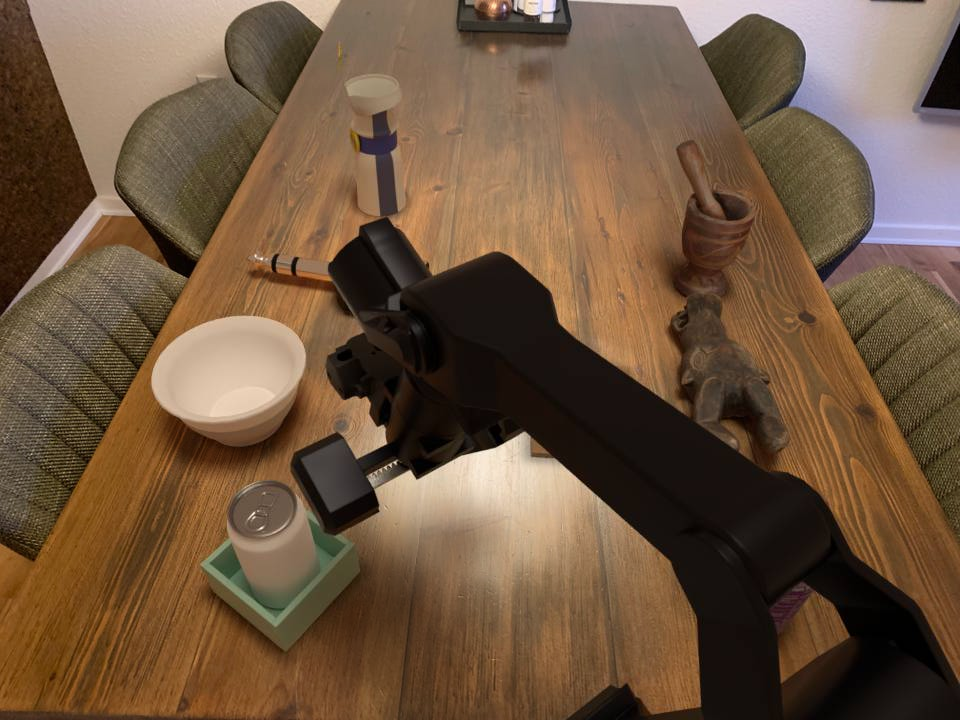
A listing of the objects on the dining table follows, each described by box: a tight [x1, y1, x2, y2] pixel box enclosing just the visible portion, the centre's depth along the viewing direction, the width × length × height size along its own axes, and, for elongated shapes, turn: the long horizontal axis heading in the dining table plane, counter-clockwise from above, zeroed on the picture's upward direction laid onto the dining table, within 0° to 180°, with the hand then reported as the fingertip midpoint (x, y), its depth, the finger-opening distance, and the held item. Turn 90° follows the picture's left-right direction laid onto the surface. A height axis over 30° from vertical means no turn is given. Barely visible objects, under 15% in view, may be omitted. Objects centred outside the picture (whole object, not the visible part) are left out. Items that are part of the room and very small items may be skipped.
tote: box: [199, 508, 361, 653], centre depth 66 cm, size 10×10×5 cm
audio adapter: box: [245, 250, 430, 310], centre depth 96 cm, size 11×5×25 cm
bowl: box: [150, 315, 307, 448], centre depth 78 cm, size 16×16×8 cm
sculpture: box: [670, 292, 791, 455], centre depth 84 cm, size 10×26×7 cm, turn 0°
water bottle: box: [337, 41, 407, 217], centre depth 104 cm, size 8×9×25 cm
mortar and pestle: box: [672, 139, 757, 299], centre depth 94 cm, size 12×9×20 cm
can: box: [226, 479, 321, 608], centre depth 63 cm, size 6×6×12 cm
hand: (408, 475), depth 60 cm, fingers open, 9 cm apart
